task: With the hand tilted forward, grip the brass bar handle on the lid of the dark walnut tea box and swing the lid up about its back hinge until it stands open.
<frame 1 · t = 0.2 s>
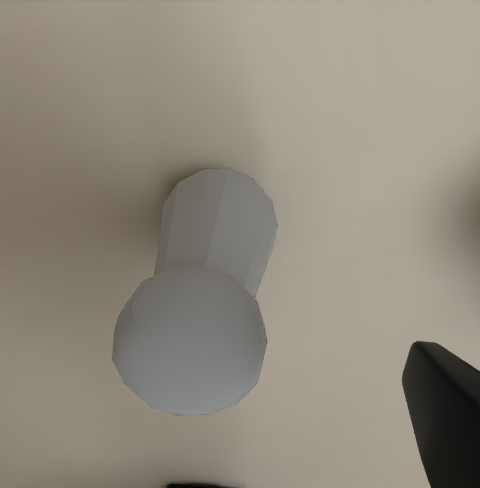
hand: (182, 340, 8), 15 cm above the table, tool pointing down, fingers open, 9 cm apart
salt shaker: (222, 209, 22), on the table
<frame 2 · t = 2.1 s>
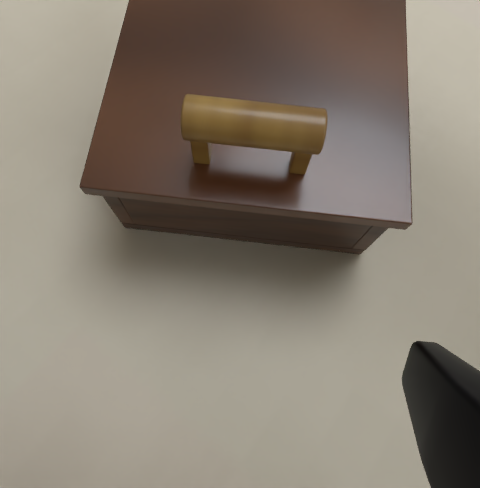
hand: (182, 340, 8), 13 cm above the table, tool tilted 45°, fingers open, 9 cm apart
tea lid: (261, 58, 17), point 8 cm above the table, hinge at 0.0°
tea box: (252, 153, 25), on the table
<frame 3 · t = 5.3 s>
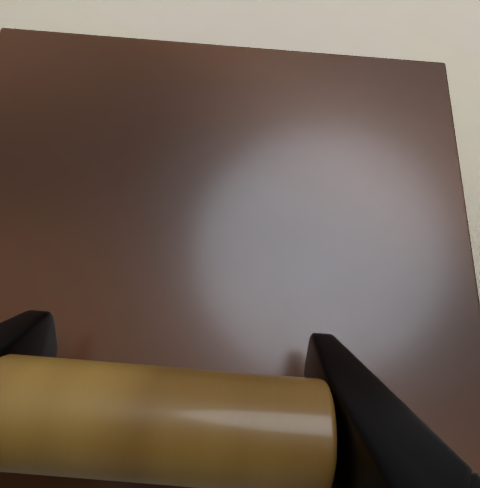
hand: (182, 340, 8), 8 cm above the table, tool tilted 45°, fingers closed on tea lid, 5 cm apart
tea lid: (196, 207, 9), point 8 cm above the table, hinge at 0.0°, touching gripper
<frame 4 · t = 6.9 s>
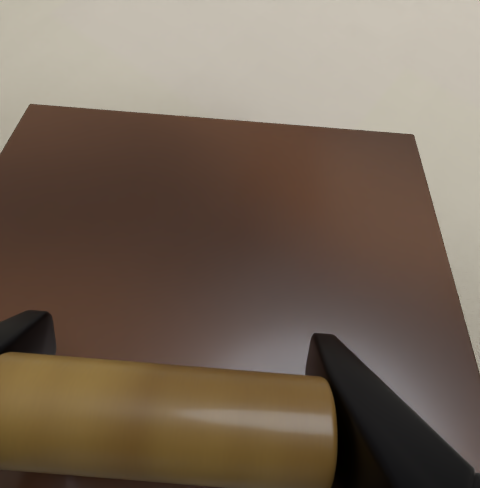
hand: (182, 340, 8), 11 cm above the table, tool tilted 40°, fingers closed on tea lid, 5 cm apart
tea lid: (198, 239, 9), point 10 cm above the table, hinge at 16.2°, touching gripper
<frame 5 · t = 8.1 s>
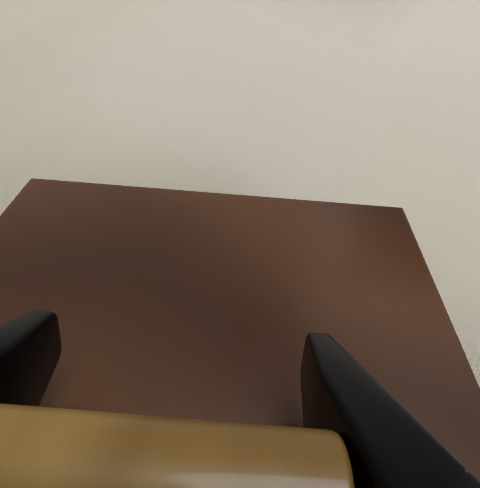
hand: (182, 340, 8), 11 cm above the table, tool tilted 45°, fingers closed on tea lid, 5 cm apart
tea lid: (191, 296, 9), point 11 cm above the table, hinge at 26.1°, touching gripper
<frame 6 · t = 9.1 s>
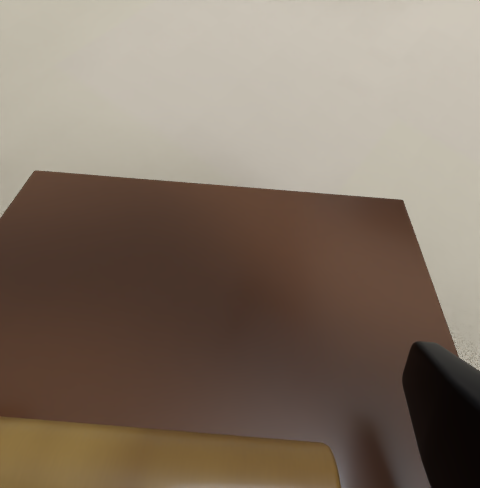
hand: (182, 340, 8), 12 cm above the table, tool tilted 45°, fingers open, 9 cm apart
tea lid: (194, 299, 9), point 10 cm above the table, hinge at 23.1°
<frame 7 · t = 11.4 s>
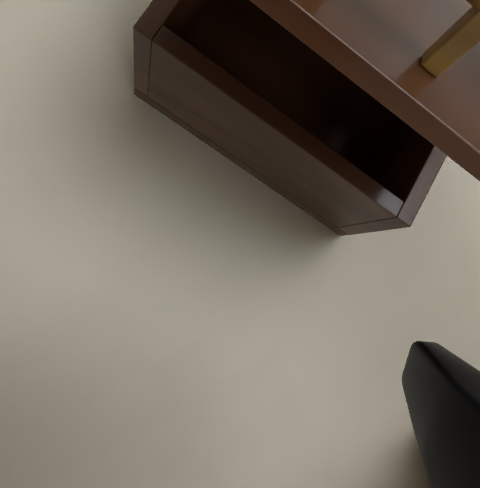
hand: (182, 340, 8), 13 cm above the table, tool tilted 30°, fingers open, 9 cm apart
tea box: (294, 86, 23), on the table
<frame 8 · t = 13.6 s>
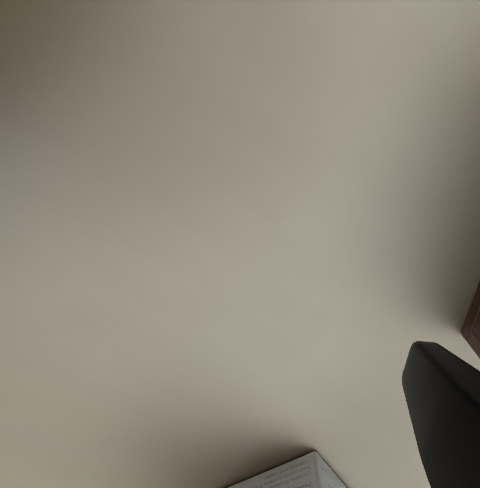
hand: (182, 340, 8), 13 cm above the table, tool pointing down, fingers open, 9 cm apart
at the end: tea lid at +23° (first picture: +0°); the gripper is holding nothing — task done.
